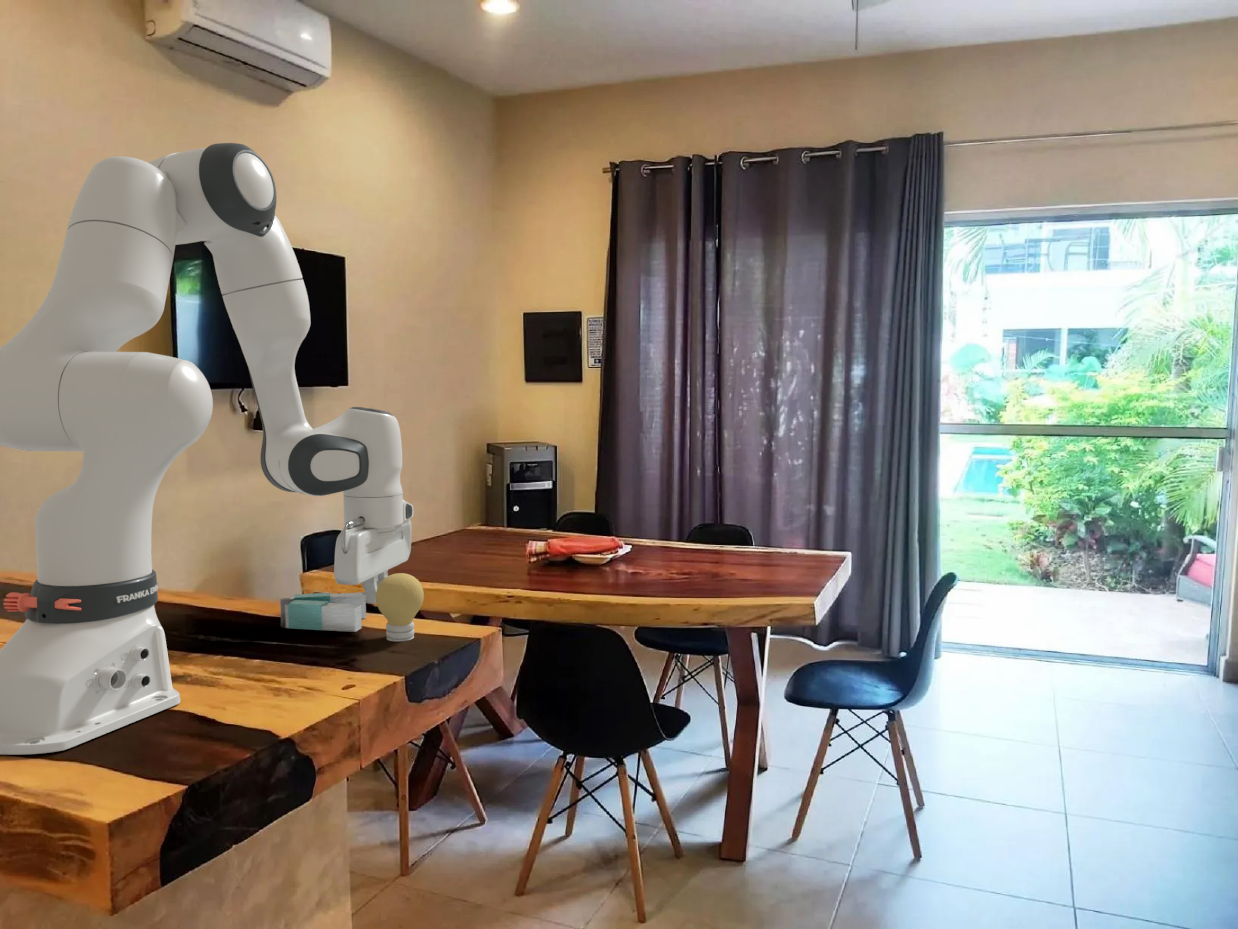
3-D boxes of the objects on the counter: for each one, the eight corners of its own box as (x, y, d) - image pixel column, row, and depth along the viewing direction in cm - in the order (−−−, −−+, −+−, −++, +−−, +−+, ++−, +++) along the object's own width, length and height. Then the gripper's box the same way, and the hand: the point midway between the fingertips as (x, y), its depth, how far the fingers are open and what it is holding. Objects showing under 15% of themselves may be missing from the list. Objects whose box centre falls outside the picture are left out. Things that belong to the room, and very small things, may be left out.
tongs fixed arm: (355, 632, 126) (354, 604, 126) (277, 628, 128) (276, 600, 127) (361, 628, 128) (361, 601, 128) (285, 624, 130) (284, 597, 130)
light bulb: (375, 653, 120) (373, 579, 119) (377, 640, 126) (376, 569, 125) (424, 651, 121) (423, 577, 120) (424, 637, 127) (423, 568, 126)
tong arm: (365, 618, 133) (365, 593, 133) (290, 623, 130) (290, 598, 130) (365, 614, 135) (365, 590, 135) (291, 619, 132) (291, 594, 132)
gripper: (363, 523, 128) (364, 619, 129) (417, 505, 148) (418, 587, 149) (321, 522, 128) (323, 617, 130) (381, 504, 149) (382, 586, 150)
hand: (375, 601), depth 139 cm, fingers closed
